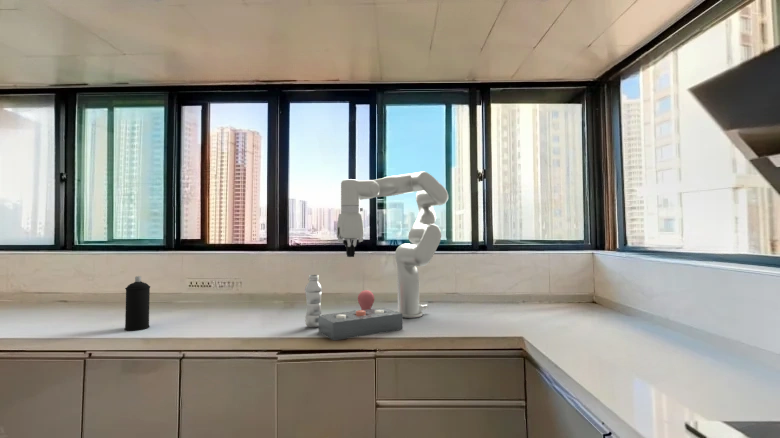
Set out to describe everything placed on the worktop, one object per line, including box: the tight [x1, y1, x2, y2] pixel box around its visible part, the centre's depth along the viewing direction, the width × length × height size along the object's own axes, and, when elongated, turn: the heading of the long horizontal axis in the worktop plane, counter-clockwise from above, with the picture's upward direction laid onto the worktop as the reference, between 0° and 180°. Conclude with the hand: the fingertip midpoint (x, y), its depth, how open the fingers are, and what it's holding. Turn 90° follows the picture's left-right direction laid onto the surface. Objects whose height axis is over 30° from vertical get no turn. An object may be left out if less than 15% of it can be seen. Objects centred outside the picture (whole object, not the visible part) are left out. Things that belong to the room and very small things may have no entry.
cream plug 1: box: [336, 314, 346, 319], centre depth 140 cm, size 4×4×6 cm
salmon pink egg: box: [355, 309, 366, 316], centre depth 144 cm, size 4×4×6 cm
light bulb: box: [357, 289, 375, 310], centre depth 164 cm, size 7×7×12 cm
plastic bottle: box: [304, 274, 323, 328], centre depth 150 cm, size 6×7×20 cm
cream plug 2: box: [375, 310, 384, 314], centre depth 148 cm, size 4×4×6 cm
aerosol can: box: [124, 275, 151, 332], centre depth 149 cm, size 8×8×20 cm
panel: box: [318, 307, 404, 341], centre depth 144 cm, size 28×14×6 cm, turn 121°
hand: (350, 256), depth 152 cm, fingers closed
